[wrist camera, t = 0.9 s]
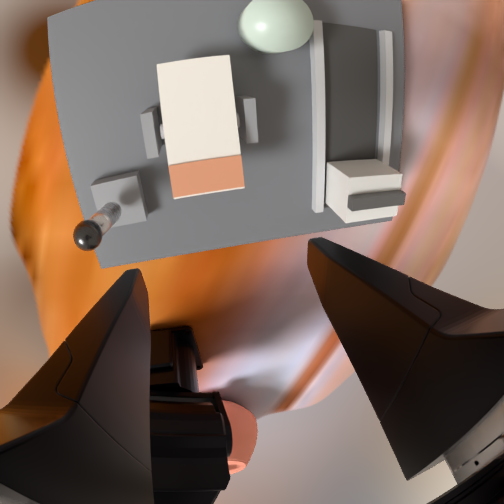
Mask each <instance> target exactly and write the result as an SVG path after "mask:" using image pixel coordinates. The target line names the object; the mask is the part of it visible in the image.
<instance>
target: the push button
mask: <svg viewBox="0 0 504 504" xmlns="http://www.w3.org/2000/svg"><path fill="white" fill-rule="evenodd" d="M237 27H238V32H239V35H240V37H241V39H242V41H243V42H244V43H245V44H246V45H247V46H248V47H249V48H251V49H252V50H254V51H257V52H259V53H263V54H276V53H281V52H286V51H291V50H294V49H297V48H299V47H301V46H302V45H304V44H305V43H306V42H307V41H308V40H309V38H310V37H311V34H312V32H313V28H314V20H313V15H312V13H311V10H310V9H309V7H308V6H307V4H306V3H305V2H304V1H303V0H252V1H251V3H250V4H249V5H248V6H247V7H246V8H245V9H244V10H243V11H242V12H241V14H240V16H239V19H238V24H237Z"/></svg>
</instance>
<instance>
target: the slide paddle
mask: <svg viewBox="0 0 504 504" xmlns="http://www.w3.org/2000/svg"><path fill="white" fill-rule="evenodd" d="M401 182H402V173H400V172H398V171H397V170H395V169H393V168H392V167H390V166H388V165H386V164H384V163H383V162H381V161H379V160H377V159H365V160H348V161H333V162H327V169H326V198H325V203H326V204H327V205H328V206H329V207H330V208H331V209H332V210H333V211H334V212H335V213H336V214H337V215H338V216H339V217H340V218H341V219H342V220H343V221H344V222H345V223H351V222H358V221H365V220H371V219H378V218H385V217H391V216H397V210H398V205H404V202H405V196H406V193H405V192H403V191H402V190H401Z"/></svg>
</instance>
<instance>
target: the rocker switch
mask: <svg viewBox="0 0 504 504" xmlns="http://www.w3.org/2000/svg"><path fill="white" fill-rule="evenodd" d="M157 75H158V86H159V95H160V105H161V113H162V122H163V124H160V132H161V138H162V139H165V145H166V152H167V159H168V167H169V174H170V180H171V187H172V193H173V198H174V199H179V198H184V197H190V196H196V195H203V194H209V193H215V192H222V191H229V190H235V189H243V188H245V184H244V176H243V167H242V158H241V152H240V143H239V134H238V128H240V119H239V114H238V113H236V108H235V99H234V90H233V82H232V73H231V64H230V55H221V56H211V57H202V58H194V59H186V60H180V61H173V62H167V63H161V64H157Z"/></svg>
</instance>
